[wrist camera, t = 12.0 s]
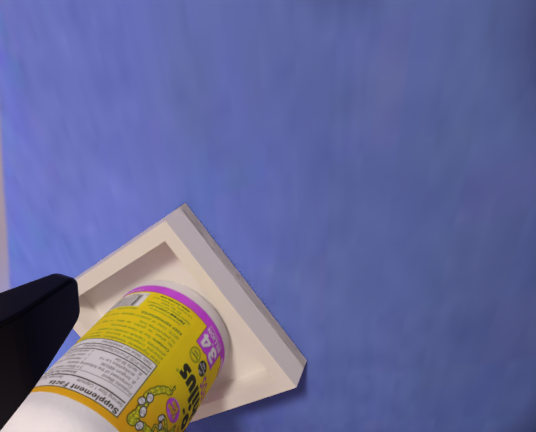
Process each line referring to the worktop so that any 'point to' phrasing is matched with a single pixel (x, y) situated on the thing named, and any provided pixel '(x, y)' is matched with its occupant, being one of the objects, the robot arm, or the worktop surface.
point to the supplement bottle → (132, 367)
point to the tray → (214, 291)
